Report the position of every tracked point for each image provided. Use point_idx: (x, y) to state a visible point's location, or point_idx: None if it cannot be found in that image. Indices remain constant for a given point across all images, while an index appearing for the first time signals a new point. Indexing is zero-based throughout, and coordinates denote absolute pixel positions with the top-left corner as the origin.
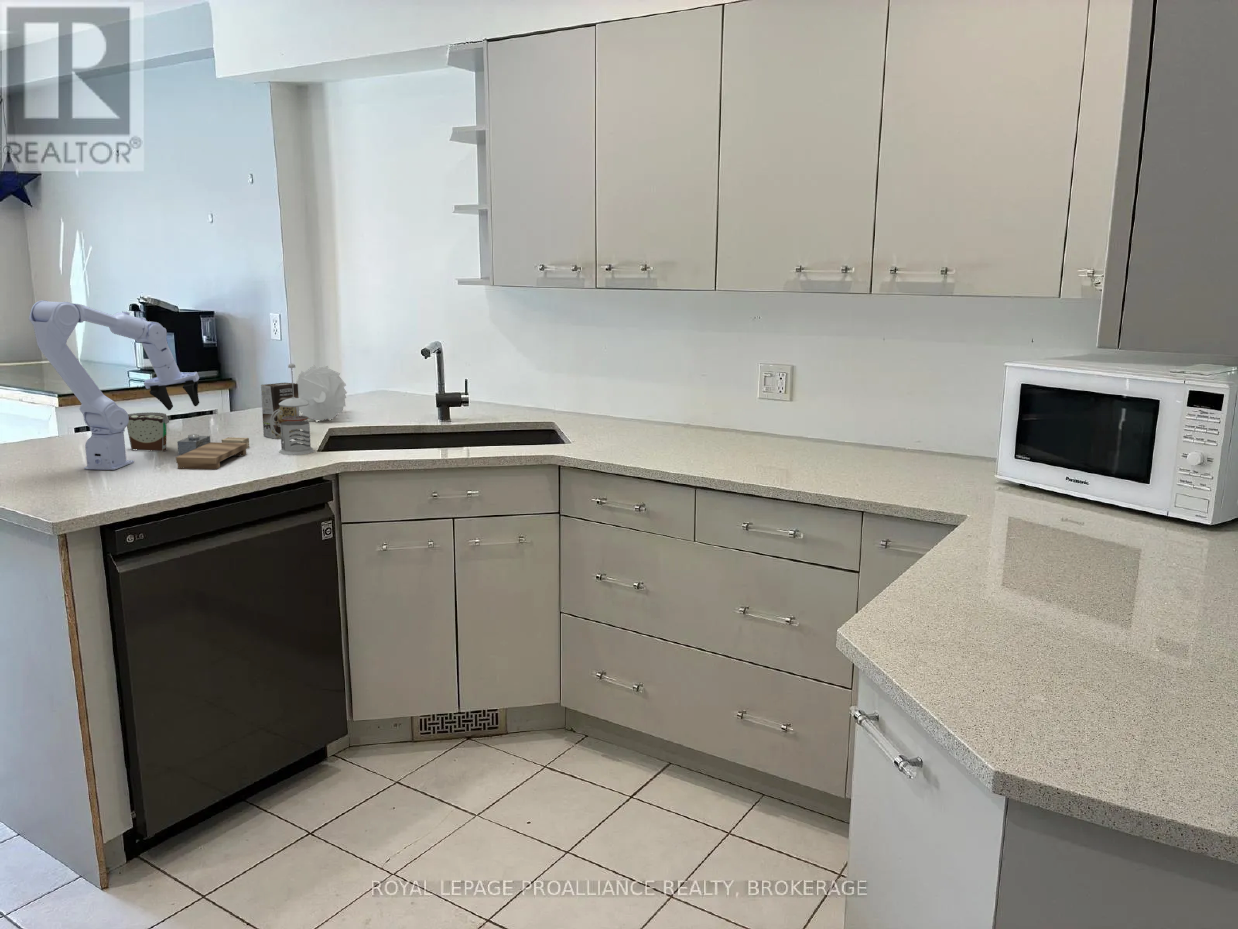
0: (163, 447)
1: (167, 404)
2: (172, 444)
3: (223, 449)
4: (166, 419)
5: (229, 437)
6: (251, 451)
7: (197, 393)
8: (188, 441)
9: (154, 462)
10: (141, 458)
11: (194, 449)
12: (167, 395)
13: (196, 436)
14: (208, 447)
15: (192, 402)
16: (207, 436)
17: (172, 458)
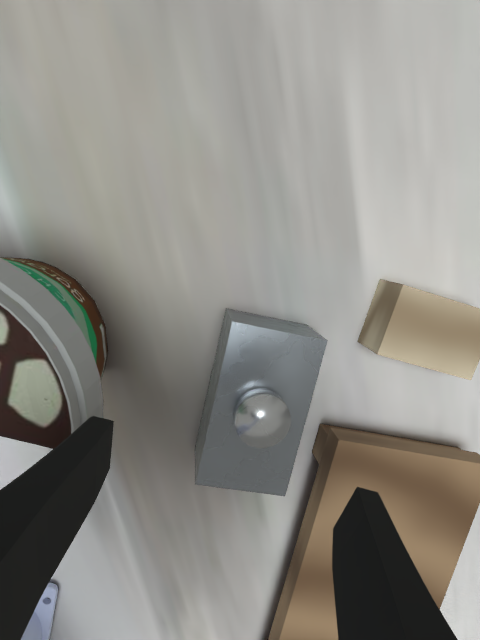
0: (102, 374)
1: (79, 520)
2: (93, 184)
3: None
4: None
5: (408, 293)
6: (475, 396)
7: (425, 600)
8: (248, 483)
9: (138, 577)
10: None
11: (296, 587)
12: (33, 534)
13: (280, 438)
14: None
15: (336, 584)
16: (316, 356)
17: (188, 511)
